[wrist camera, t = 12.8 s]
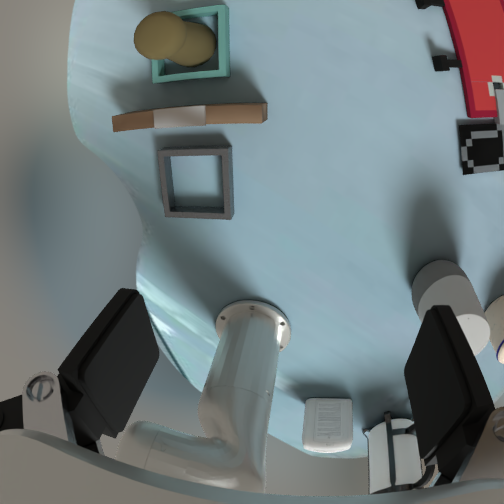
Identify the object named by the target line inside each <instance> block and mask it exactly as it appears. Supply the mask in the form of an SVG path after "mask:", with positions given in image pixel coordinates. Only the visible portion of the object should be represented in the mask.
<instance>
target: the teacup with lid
mask: <svg viewBox="0 0 504 504" xmlns="http://www.w3.org/2000/svg"><path fill="white" fill-rule="evenodd" d="M484 314H485V316H486V319H487V321H488V324H489V326H490V338H489V339H490V342H491V344H492V346H493V348H494V350H495V352H496V357H497V360H498V361H499V362H500V363H502V364H504V295H503V296H501V297H499V298H497V299H496V300H495V301H494V302H492V303H491V304H490V306H489V307H488V308H487V310H486V311H485V313H484Z"/></svg>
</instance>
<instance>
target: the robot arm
mask: <svg viewBox="0 0 504 504" xmlns="http://www.w3.org/2000/svg"><path fill="white" fill-rule="evenodd" d="M216 332H217V335H218V337H219V338H220V341H219V344H218V347H217V350H216V353H215V356H214V359H213V362H212V365H211V368H210V371H209V374H208V377H207V380H206V383H205V386H204V389H203V392H202V395H201V397H200V401H199V404H198V416H199V420H200V423H201V426H202V428H203V431H204V433H205V434H206V436H207V438H204V437H199V436H198V437H197V436H194V435H190V434H187V433H184V432H180V431H177V430H174V429H171V428H168V427H165V426H162V425H159V424H156V423H152V422H148V421H137V422H134V423H132V424H131V425H129V426H128V428H127V429H126V430H125V432H124V433H123V436H122V437H121V440H120V442H119V445H118V448H117V452H116V457H115V459H112V458H109V457H106V456H105V455H104V452H103V449H102V445H101V442H100V437H101V435H102V434H105V435H107V436H110V437H113V438H116V437H117V434H118V433H119V432H122V431H123V430H124V428H125V426H126V424H127V422H128V420H129V418H130V415H131V413H132V411H133V409H134V407H135V405H136V403H137V401H138V399H139V397H140V395H141V393H142V391H143V389H144V387H145V385H146V383H147V381H148V379H149V377H150V375H151V373H152V371H153V369H154V367H155V365H156V363H157V361H158V358H159V348H158V345H157V342H156V339H155V336H154V332H153V329H152V326H151V323H150V319H149V316H148V313H147V309H146V306H145V302H144V298H143V296H142V295H141V294H139V292H138V291H137V290H134V289H125V288H121V289H120V290H118V292H117V293H116V294H115V295H114V297H113V298H112V299H111V300H110V302H109V303H108V304H107V305H106V307H105V308H104V309H103V310H102V312H101V313H100V314H99V315H98V317H97V318H96V319H95V320H94V322H93V323H92V324H91V326H90V327H89V328H88V329H87V331H86V332H85V333H84V335H83V336H82V337H81V339H80V340H79V341H78V343H77V344H76V345H75V347H74V348H73V349H72V351H71V352H70V353H69V355H68V356H67V357H66V359H65V360H64V361H63V363H62V364H61V366H60V367H59V368H58V371H59V374H58V376H56V375H55V374H53V373H51V372H46V371H44V372H39V373H37V374H34V375H33V376H32V377H30V378H29V379H28V380H27V382H26V383H25V385H24V387H23V392H22V395H20V396H17V397H14V398H11V399H8V400H5V401H2V402H0V504H504V407H499V408H497V409H495V407H494V404H493V400H492V398H491V395H490V392H489V390H488V387H487V385H486V382H485V380H484V377H483V375H482V372H481V370H480V367H479V365H478V363H477V360H476V358H475V356H474V354H473V351H472V349H471V347H470V345H469V343H468V340H467V338H466V336H465V334H464V332H463V330H462V328H461V326H460V324H459V322H458V320H457V318H456V316H455V314H454V312H453V310H452V308H451V307H450V305H433V306H432V307H431V309H430V310H427V311H426V313H425V316H424V319H423V322H422V324H421V327H420V330H419V333H418V335H417V338H416V340H415V343H414V346H413V348H412V351H411V353H410V355H409V358H408V360H407V363H406V365H405V369H404V376H405V380H406V385H407V389H408V394H409V399H410V404H411V409H412V414H413V420H414V425H415V431H416V437H417V443H418V450H419V456H420V458H421V459H424V462H425V466H428V465H434V464H438V470H439V472H438V474H437V476H436V477H435V479H434V480H433V482H432V483H431V485H430V486H429V487H428V488H422V489H416V490H408V491H401V492H392V493H383V494H372V495H359V496H321V497H320V496H318V497H317V496H291V495H275V494H265V489H266V441H267V432H268V424H269V418H270V411H271V405H272V398H273V392H274V385H275V378H276V371H277V364H278V357H279V352H281V351H282V350H284V349H285V347H286V346H287V345H288V343H289V341H290V338H291V326H290V323H289V321H288V319H287V318H286V316H285V315H284V314H283V313H282V312H281V311H280V310H278V309H277V308H275V307H273V306H271V305H269V304H267V303H264V302H260V301H254V300H243V301H237V302H234V303H231V304H229V305H228V306H226V307H225V308H224V309H223V310H221V312H220V313H219V315H218V318H217V320H216Z"/></svg>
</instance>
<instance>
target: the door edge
mask: <svg viewBox="0 0 504 504" xmlns="http://www.w3.org/2000/svg"><path fill="white" fill-rule="evenodd" d="M266 120H267V103H226V104H204V105H189V106H177V107H167V108H157V109H149V110H141V111H134V112H129V113H124V114H120V115H116V116H112V124H113V132H118V131H126V130H135V129H144V128H155V129H157V128H170V127H185V126H205V125H206V124H228V123H263V122H264V121H266Z"/></svg>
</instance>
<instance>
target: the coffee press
mask: <svg viewBox="0 0 504 504" xmlns="http://www.w3.org/2000/svg"><path fill="white" fill-rule="evenodd" d="M384 416H385V422H382V423H380V424H378V425H376V426H375V427H374V428H373V429H372V430H371V431H370V430H368V429H364V430H363V434H364V433H365V432H366V431H368V432H370V433H369V439H368V438H367V436H366V435H365V434H364V436H365V437H366V438H367V440H368V466H369V467H368V468H369V495H372V494H383V493H392V492H401V491H408V490H416V489H422V488H424V485H426V484H427V483H428V482H429V481H430V479H431V478H432V476H433V473H434V469H435V464H434V465H428V466H426V471H425V474H424V475H423V474H422V473H421V470H422V464H420V461H421V458H420V456H419V450H418V443H417V437H416V431H415V425H414V423H413V421H414V420H413V419H412V420H408V419H391V415H390V411H388V412H385V413H384ZM422 475H423V476H422Z"/></svg>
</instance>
